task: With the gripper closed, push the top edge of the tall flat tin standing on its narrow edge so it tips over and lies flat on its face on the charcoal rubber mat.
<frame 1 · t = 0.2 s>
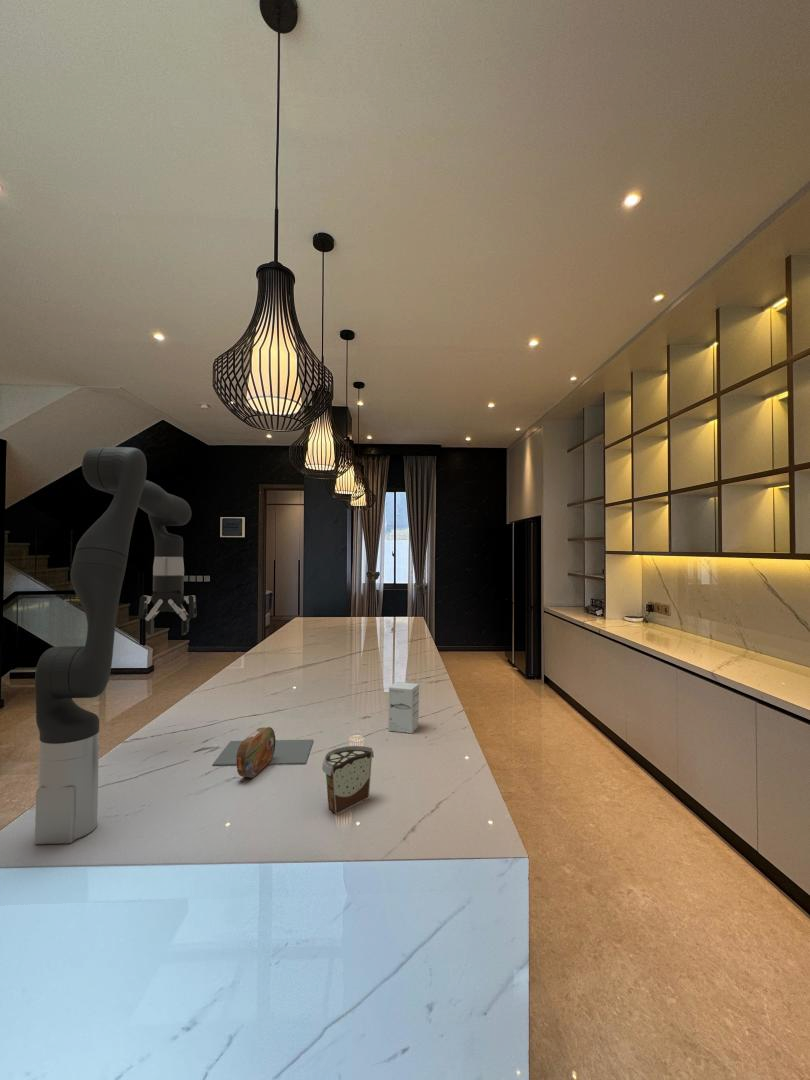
hand: (167, 634, 141), 29 cm above the table, tool pointing down, fingers open, 8 cm apart
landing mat: (266, 752, 135), on the table
supplement box: (403, 729, 154), on the table
food container: (342, 802, 108), on the table
tin: (256, 769, 124), on the table, touching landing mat
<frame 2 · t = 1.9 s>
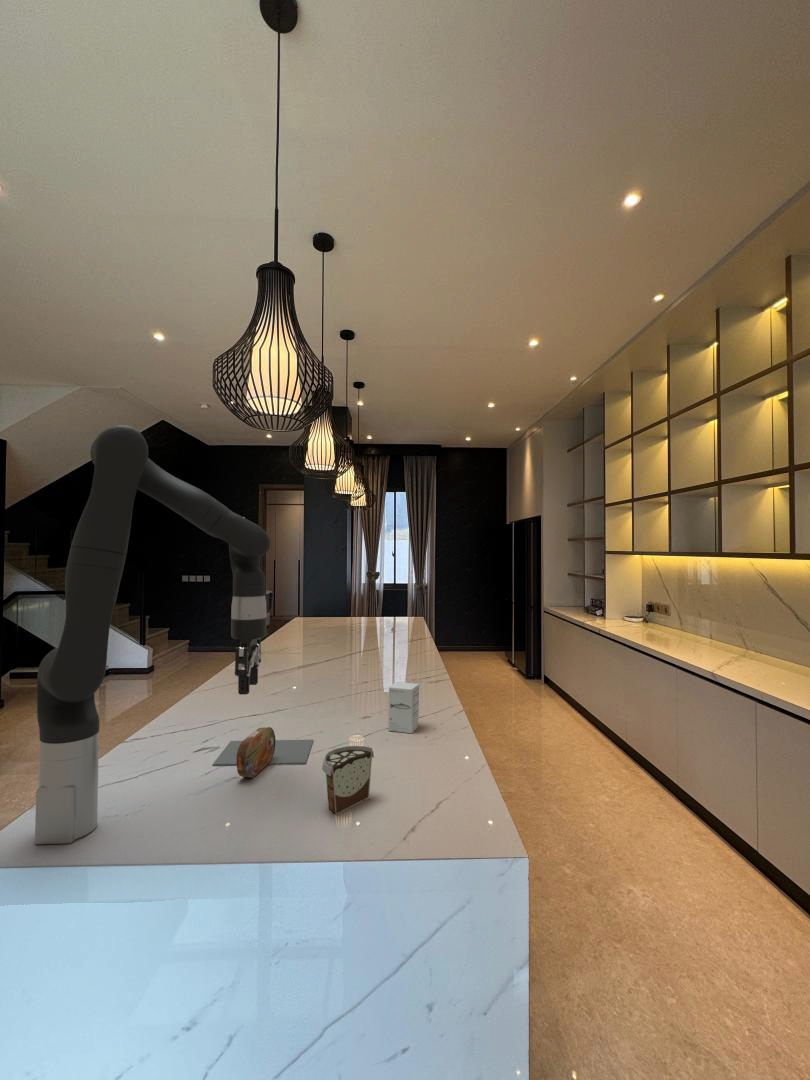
hand: (248, 689, 118), 20 cm above the table, tool pointing down, fingers open, 8 cm apart
nothing on the table moved.
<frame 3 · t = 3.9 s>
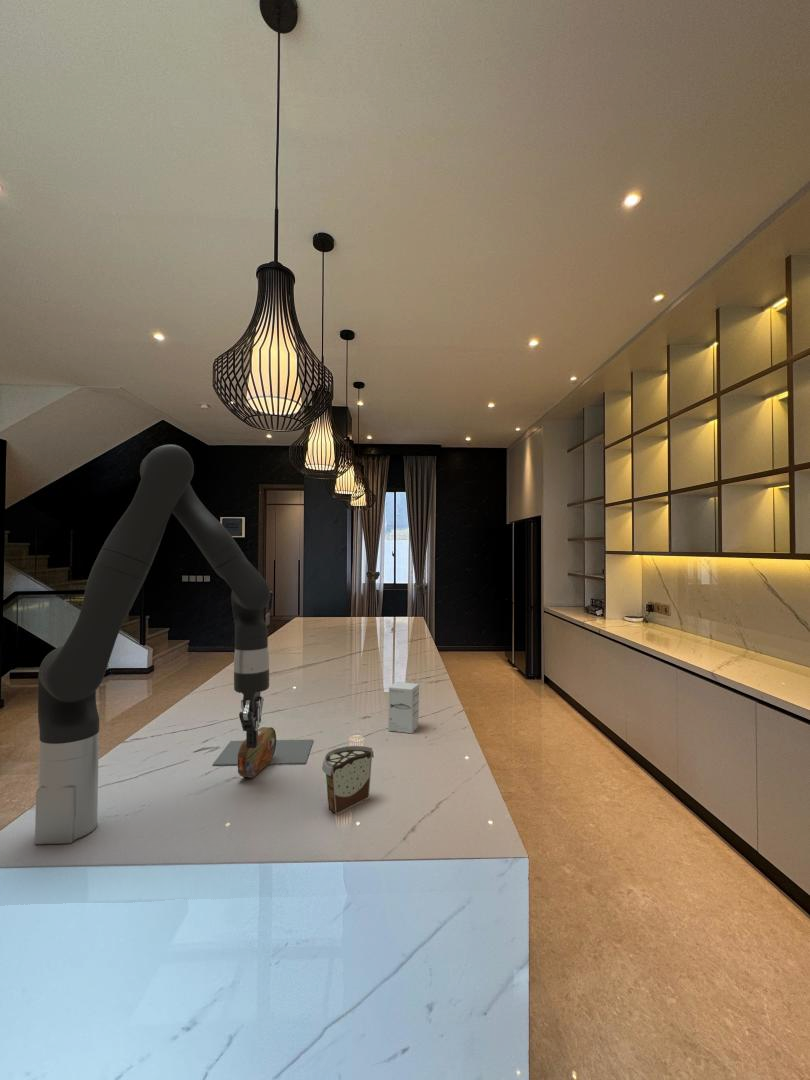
hand: (252, 746, 117), 8 cm above the table, tool pointing down, fingers closed
tin: (256, 769, 124), on the table, touching gripper, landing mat
everything else where it was.
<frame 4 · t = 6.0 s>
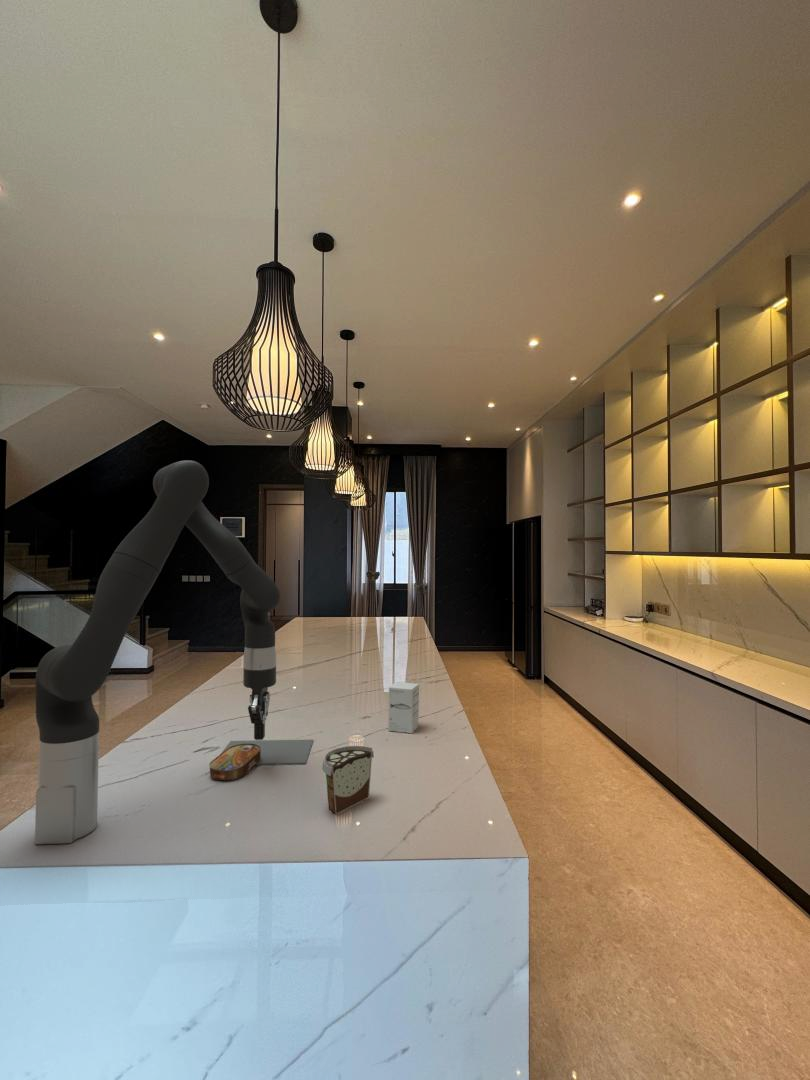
hand: (259, 738, 126), 7 cm above the table, tool pointing down, fingers closed
tin: (253, 764, 124), point 1 cm above the table, touching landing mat
everything else where it was.
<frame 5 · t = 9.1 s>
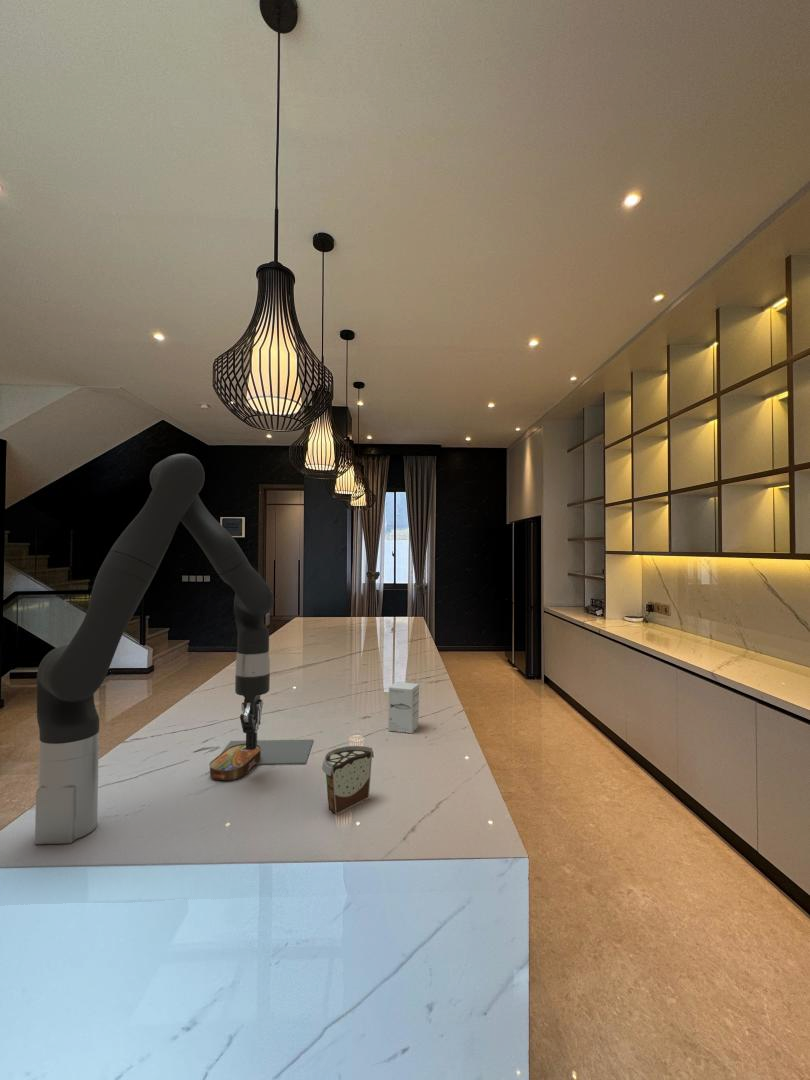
hand: (251, 748, 120), 6 cm above the table, tool pointing down, fingers closed
nothing on the table moved.
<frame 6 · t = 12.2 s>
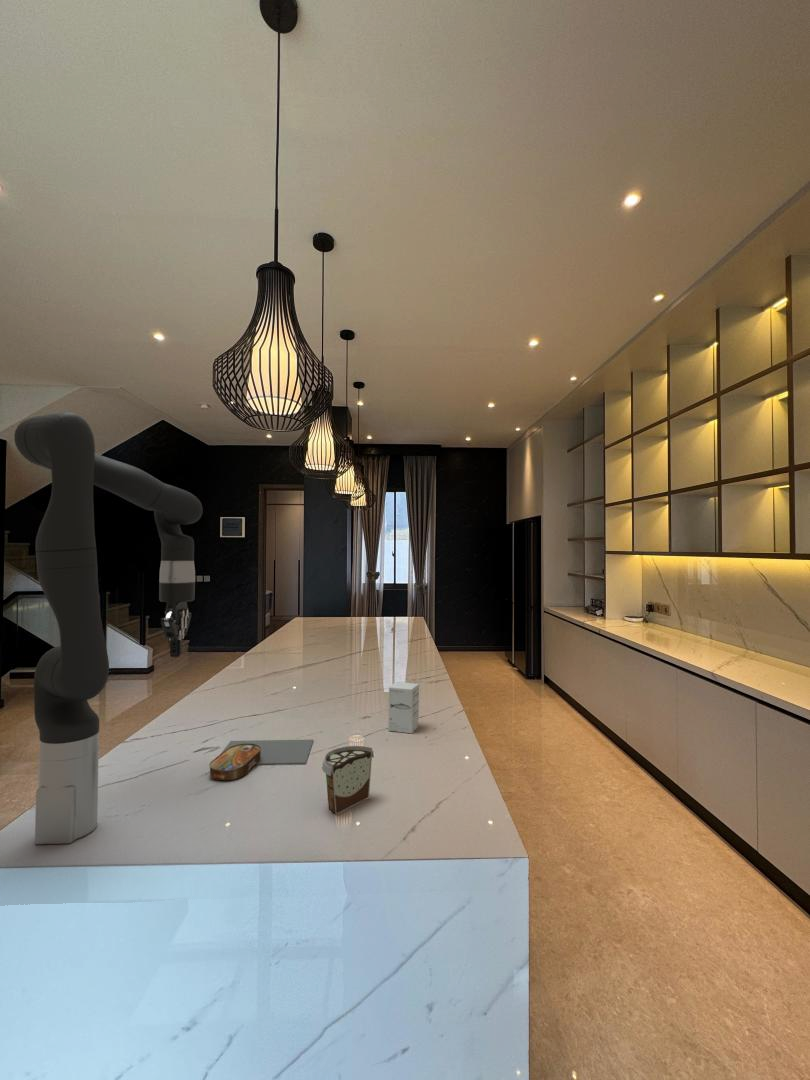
hand: (176, 656, 121), 27 cm above the table, tool pointing down, fingers closed
nothing on the table moved.
at the end: tin tilted 85°; tin inside the target area (4.9 cm from its centre), point 1.3 cm above the table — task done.
